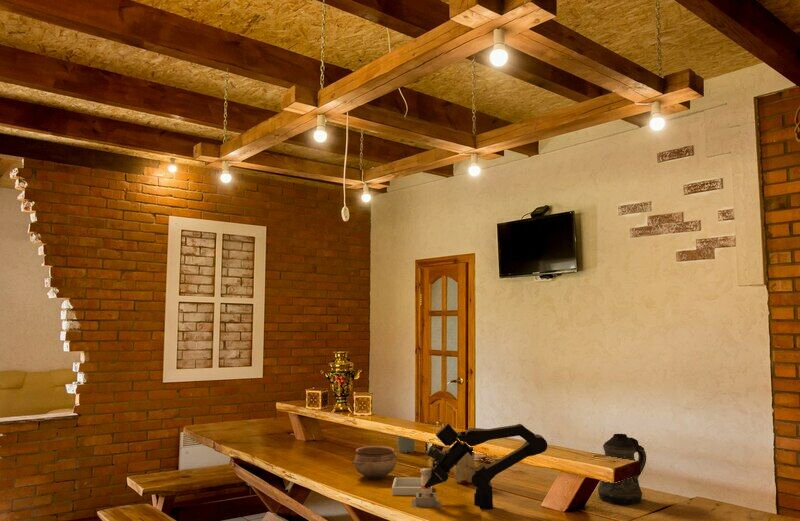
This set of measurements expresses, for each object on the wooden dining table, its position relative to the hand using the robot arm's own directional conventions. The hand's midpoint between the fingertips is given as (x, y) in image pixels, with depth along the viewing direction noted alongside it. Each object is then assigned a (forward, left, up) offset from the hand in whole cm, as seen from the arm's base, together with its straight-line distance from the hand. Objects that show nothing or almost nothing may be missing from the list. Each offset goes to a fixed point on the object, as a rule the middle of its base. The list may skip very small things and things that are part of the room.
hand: (425, 484), depth 238 cm
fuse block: (0, 0, -8) cm, 8 cm away
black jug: (-77, -14, -8) cm, 79 cm away
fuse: (0, 0, -7) cm, 7 cm away
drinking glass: (+13, -99, -8) cm, 100 cm away
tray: (+6, -19, -8) cm, 21 cm away
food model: (-16, -34, -8) cm, 39 cm away
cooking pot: (+24, -42, -8) cm, 49 cm away
